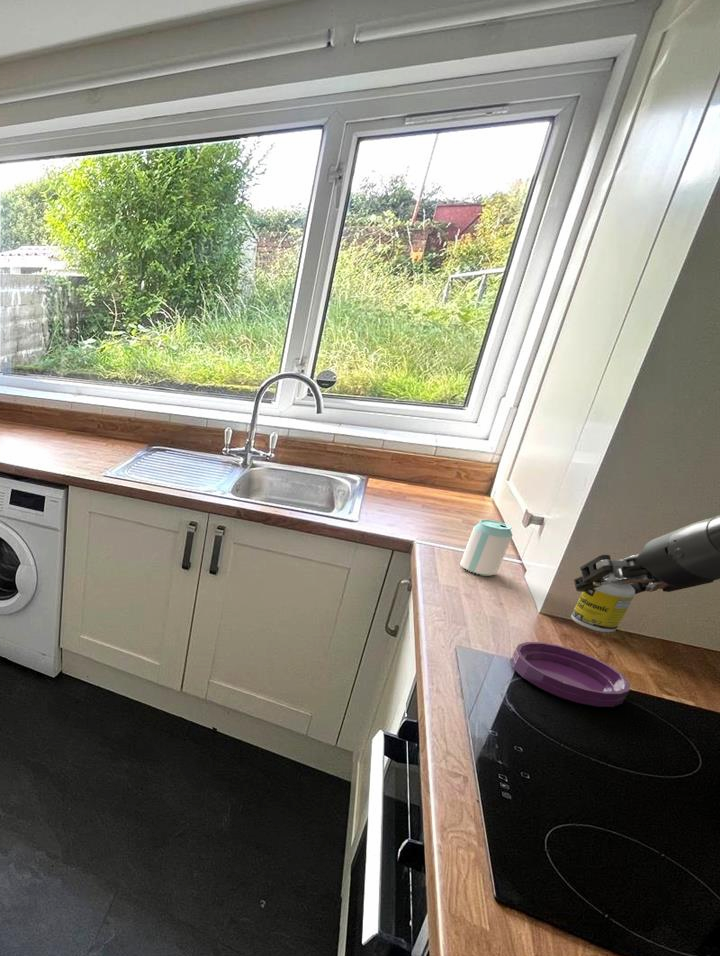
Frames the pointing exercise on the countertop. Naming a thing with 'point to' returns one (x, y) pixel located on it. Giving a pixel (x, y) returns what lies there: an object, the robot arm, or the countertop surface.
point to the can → (486, 547)
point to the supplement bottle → (603, 606)
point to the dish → (570, 674)
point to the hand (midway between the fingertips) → (599, 588)
